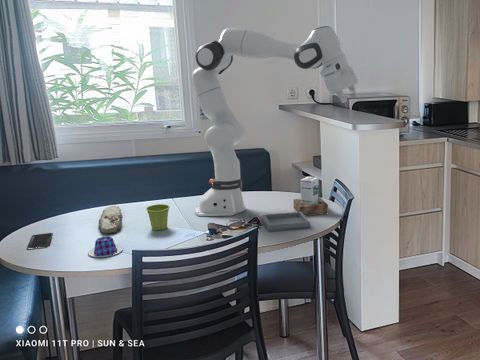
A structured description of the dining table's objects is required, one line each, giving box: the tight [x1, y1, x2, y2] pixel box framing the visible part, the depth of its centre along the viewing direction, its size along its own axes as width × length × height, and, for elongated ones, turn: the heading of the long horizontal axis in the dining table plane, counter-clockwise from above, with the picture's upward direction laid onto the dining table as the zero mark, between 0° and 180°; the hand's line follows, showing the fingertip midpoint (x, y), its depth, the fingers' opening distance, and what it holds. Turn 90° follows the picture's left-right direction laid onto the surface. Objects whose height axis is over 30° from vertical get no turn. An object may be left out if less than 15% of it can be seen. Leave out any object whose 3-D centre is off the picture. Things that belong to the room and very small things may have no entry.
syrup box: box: [300, 176, 320, 205], centre depth 208 cm, size 6×6×14 cm
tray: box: [262, 211, 311, 232], centre depth 193 cm, size 16×14×2 cm
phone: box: [26, 232, 54, 249], centre depth 187 cm, size 8×1×15 cm
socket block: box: [293, 196, 329, 216], centre depth 209 cm, size 12×12×4 cm
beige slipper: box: [98, 205, 124, 234], centre depth 207 cm, size 35×5×10 cm
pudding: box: [88, 235, 124, 258], centre depth 173 cm, size 12×12×5 cm
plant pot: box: [145, 203, 171, 231], centre depth 195 cm, size 9×9×9 cm
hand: (349, 99), depth 189 cm, fingers open, 8 cm apart
